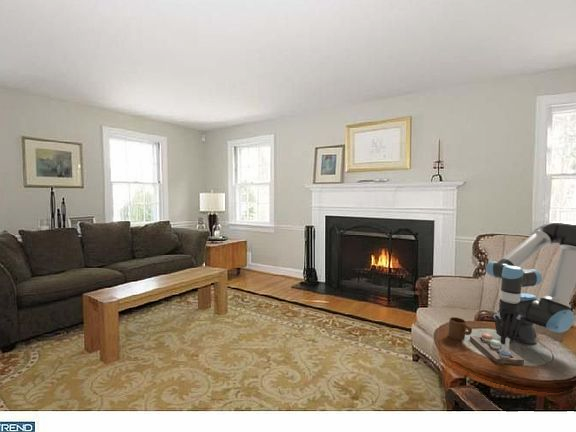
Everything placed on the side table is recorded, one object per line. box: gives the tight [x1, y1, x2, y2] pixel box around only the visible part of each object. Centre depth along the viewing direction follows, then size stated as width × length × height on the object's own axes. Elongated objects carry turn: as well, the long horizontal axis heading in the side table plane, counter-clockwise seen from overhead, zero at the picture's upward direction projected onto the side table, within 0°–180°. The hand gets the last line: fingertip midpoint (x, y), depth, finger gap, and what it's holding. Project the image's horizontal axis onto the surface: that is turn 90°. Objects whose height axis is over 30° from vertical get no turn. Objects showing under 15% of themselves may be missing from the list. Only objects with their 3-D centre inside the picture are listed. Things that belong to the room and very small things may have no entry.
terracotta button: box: [481, 332, 493, 343], centre depth 161 cm, size 4×4×3 cm
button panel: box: [469, 335, 525, 365], centre depth 154 cm, size 12×22×2 cm, turn 179°
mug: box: [447, 316, 473, 342], centre depth 165 cm, size 12×8×9 cm, turn 21°
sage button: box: [490, 339, 501, 350], centre depth 154 cm, size 4×4×3 cm
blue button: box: [499, 349, 511, 358], centre depth 147 cm, size 4×4×3 cm
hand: (504, 350), depth 147 cm, fingers closed
